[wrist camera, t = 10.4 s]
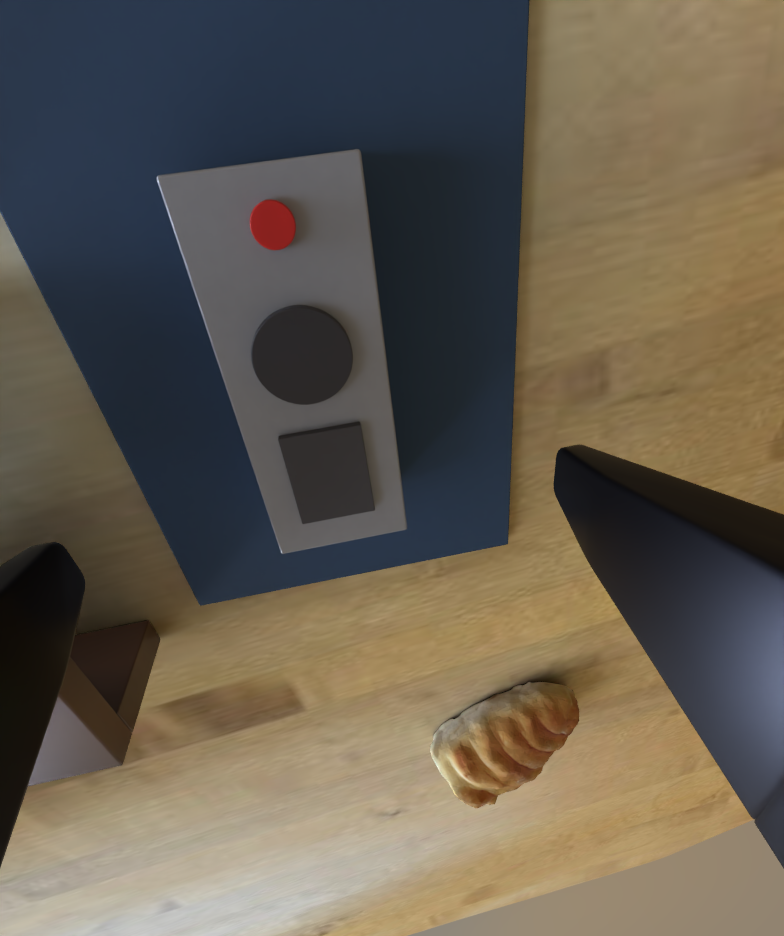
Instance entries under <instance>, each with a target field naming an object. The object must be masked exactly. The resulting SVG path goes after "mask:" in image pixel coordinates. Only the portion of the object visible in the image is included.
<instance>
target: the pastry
mask: <svg viewBox="0 0 784 936" xmlns="http://www.w3.org/2000/svg"><path fill="white" fill-rule="evenodd" d="M578 722H579V708H578V705H577V700H576V698H575V695H574V693H573V690H571V689H570V688H568V687H566V686H564V685H559V684H554V683H547V682H536V683H530V682H529V681H528V683H527V684H525V685H523V686H522V685H517V686H514V687H513V689H512V690H510V691H507V692H505V693H502V694H495V695H493V696H492V697H491V698H489V699H487V700H485V701H483V702H482V703H478V704H476V705H474V706H472V707H470V708H469V709H467V710H465V711H463V712H462V713H461V715H460V716H459V717H458V718H456V719H454V720H453V719H450V720H448V721H447V722H445V723H444V724H442V725H441V726H440V728H439V729H438V730H437V732H436V733H435V734H434V737H433V738H434V740H433V742H432V743H431V746H430V751H431V755H432V758H433V760H434V762H435V764H436V765H437V767H438V768H439V771H440V774H441V775H442V776H443V777H444V778H445V779H446V780H447V782H448V783H449V785H450V786H451V789H452V791H453V792H454V794H455V795H456V797H457V798H458V799H460V800H461V801H462V802H464V803H465V804H467V805H469V806H471V807H474V808H479V807H481V806H483V805H485V804H489V805H491V804H495V802H496V799H497V797H498V795H500V794H503V793H505V792H509V791H512V790H515V789H517V788H519V787H520V786H521V785H522V784H524V783H526V782H529V781H533V780H534V779H535V778H536V777H537V775H539V774H540V773H541V771H542V768H543V765H544V764H545V763H546V762H547V761H548V759H549V757H550V756H551V755H552V754H553V752H554V751H555V750H559V749H560V748H561V747H562V746H563V745H564V743H565V741H566V739H567V737H568V735H570V734H571V733H572V731H573V729H574V728H575V726H576V725H577V724H578Z"/></svg>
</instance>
